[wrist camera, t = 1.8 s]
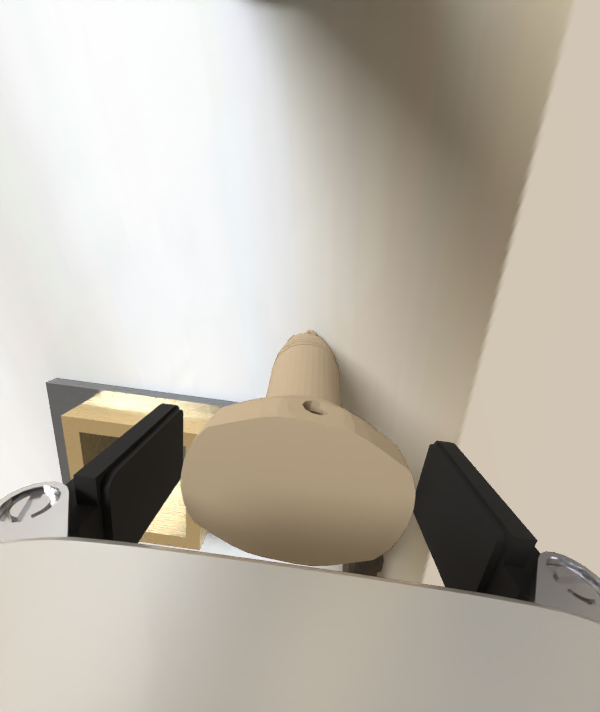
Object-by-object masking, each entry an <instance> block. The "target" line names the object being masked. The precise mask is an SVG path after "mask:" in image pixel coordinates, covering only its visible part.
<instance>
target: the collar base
mask: <svg viewBox="0 0 600 712" xmlns="http://www.w3.org/2000/svg"><path fill="white" fill-rule="evenodd" d="M46 386H47V392H48V398H49V404H50V410H51V416H52V422H53V428H54V434H55V440H56V446H57V452H58V458H59V464H60V469H61V475H62V481H63V484H64V485H66V484H67V483H68V482H69V481H70V480H72V479H73V478H74V477H73V475H74V474H75V473H76V472H78V471H79V470H80V469H81V468H83V467H84V466H85V465H86V464H87V463H89V462H90V461H91V460H92V459H94V458H95V457H96V456H97V455H99V454H100V453H101V452H102V451H103V450H105V449H106V448H107V447H108V446H110V445H111V444H112V443H113V442H114V441H116V440H117V439H118V438H119V437H121V436H122V435H123V434H124V433H126V432H127V431H128V430H129V429H130V428H132V427H133V426H134V425H135V424H137V423H138V422H139V421H140V420H141V419H143V418H144V417H145V416H146V415H148V414H149V413H150V412H151V411H152V410H154V409H155V408H156V407H157V406H159V405H160V404H162V403H165V404H173V405H178V406H179V409H181V410H183V414H184V415H183V462H184V458H185V456H186V454H187V451H188V449H189V447H190V445H191V443H192V442H193V441H194V439H195V438H196V436H197V435H198V434H199V432H200V431H201V430H202V428H203V427H204V426H205V424H206V423H207V422H208V421H209V419H210V418H211V417H212V416H213V415H214V414H215V413H216V412H217V411H219V410H220V409H221V408H222V407H224V406H228V405H232V404H236V403H239V402H231V401H224V400H216V399H209V398H202V397H194V396H187V395H179V394H172V393H164V392H157V391H149V390H142V389H134V388H127V387H119V386H112V385H104V384H97V383H89V382H82V381H75V380H67V379H60V378H56V379H53V380H51V381H49V382H46ZM206 533H207V530H206V529H204V528H202V527H201V526H199V525H198V524H196V523H194V521H193V520H192V518H191V516H190V515H189V513H188V511H187V509H186V507H185V504H184V502H183V497H182V492H181V479H180V480H179V482H178V484H177V485H176V487H175V488H174V490H173V491H172V493H171V494H170V496H169V497H168V499H167V500H166V502H165V503H164V505H163V506H162V508H161V509H160V511H159V512H158V514H157V515H156V517H155V518H154V520H153V521H152V523H151V524H150V526H149V527H148V529H147V530H146V532H145V533H144V535H143V536H142V538H141V539H140V541H139V542H146V543H153V544H160V545H168V546H175V547H182V548H189V549H197V550H200V548H201V546H202V543H203V541H204V538H205V536H206Z"/></svg>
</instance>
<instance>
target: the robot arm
mask: <svg viewBox="0 0 600 712" xmlns="http://www.w3.org/2000/svg"><path fill="white" fill-rule="evenodd" d="M183 415H184V414H183V410H181V409H179V406H178V405H173V404H165V403H162V404H160V405H159V406H157V407H156V408H155V409H154V410H152V411H151V412H150V413H149V414H148V415H146V416H145V417H144V418H143V419H141V420H140V421H139V422H138V423H137V424H135V425H134V426H133V427H132V428H130V429H129V430H128V431H127V432H126V433H124V434H123V435H122V436H121V437H119V438H118V439H117V440H116V441H114V442H113V443H112V444H111V445H110V446H108V447H107V448H106V449H105V450H103V451H102V452H101V453H100V454H99V455H97V456H96V457H95V458H94V459H92V460H91V461H90V462H89V463H87V464H86V465H85V466H84V467H83V468H81V469H80V470H79V471H78V472H76V473H75V474H74V475H73V477H74V478H73V479H72V480H70V481H69V482H68V483H67V484H66V485H64V484H63V483H59V482H42V483H37V484H33V485H29V486H26V487H23V488H21V489H19V490H17V491H14V492H12V493H10V494H9V495H7V496H5V497H4V498H2V499H1V500H0V712H600V578H599V577H598V576H597V575H595V574H594V573H593V572H591V571H590V570H589V569H587V568H586V567H585V566H583V565H581V564H580V563H578V562H576V561H575V560H573V559H571V558H568V557H566V556H564V555H561V554H558V553H555V552H543V553H541V554H540V553H539V551H538V550H537V549H536V548H535V547H534V546H535V544H536V542H537V540H536V539H535V537H534V536H533V535H532V534H531V532H530V531H529V530H528V529H527V528H526V527H525V525H524V524H523V523H522V522H521V521H520V520H519V519H518V517H517V516H516V515H515V514H514V513H513V511H512V510H511V509H510V508H509V507H508V506H507V504H506V503H505V502H504V501H503V500H502V499H501V497H500V496H499V495H498V494H497V493H496V492H495V490H494V489H493V488H492V487H491V486H490V485H489V483H488V482H487V481H486V480H485V479H484V477H483V476H482V475H481V474H480V473H479V472H478V471H477V470H476V468H475V467H474V466H473V465H472V463H471V462H470V461H469V460H468V459H467V458H466V457H465V455H464V454H463V453H462V452H461V451H460V449H459V448H458V447H457V446H456V445H455V444H454V443H450V442H443V441H436V442H435V443H434V444H431V445H430V446H429V449H428V452H427V456H426V459H425V462H424V466H423V469H422V473H421V476H420V480H419V483H418V486H417V490H416V493H415V494H416V495H415V503H414V510H413V512H414V515H415V517H416V519H417V522H418V524H419V526H420V529H421V531H422V534H423V536H424V538H425V541H426V543H427V545H428V548H429V550H430V552H431V555H432V557H433V559H434V561H435V564H436V566H437V569H438V571H439V573H440V576H441V578H442V580H443V583H444V585H445V587H441V586H434V585H427V584H421V583H414V582H407V581H401V580H394V579H387V578H381V577H374V576H367V575H361V574H354V573H347V572H340V571H333V570H326V569H319V568H312V567H306V566H298V565H291V564H284V563H277V562H270V561H263V560H256V559H249V558H242V557H235V556H227V555H220V554H213V553H205V552H198V551H191V550H183V549H176V548H169V547H161V546H154V545H146V544H138V542H139V541H140V539H141V538H142V536H143V535H144V533H145V532H146V530H147V529H148V527H149V526H150V524H151V523H152V521H153V520H154V518H155V517H156V515H157V514H158V512H159V511H160V509H161V508H162V506H163V505H164V503H165V502H166V500H167V499H168V497H169V496H170V494H171V493H172V491H173V490H174V488H175V487H176V485H177V484H178V482H179V480H180V479H181V472H182V467H183Z"/></svg>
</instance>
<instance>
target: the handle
mask: <svg viewBox="0 0 600 712" xmlns="http://www.w3.org/2000/svg"><path fill="white" fill-rule="evenodd" d="M181 492H182V497H183V502H184V504H185V507H186V509H187V511H188V513H189V515H190V516H191V518H192V520H193V521H194V523H196V524H198V525H199V526H201V527H202V528H204V529H206V530H207V531H209V532H210V533H212V534H214V535H215V536H217V537H219V538H220V539H222V540H224V541H225V542H227V543H229V544H231V545H232V546H234V547H236V548H239V549H241V550H243V551H245V552H247V553H251V554H254V555H257V556H261V557H265V558H270V559H275V560H279V561H284V562H289V563H294V564H300V565H308V566H329V565H338V564H347V563H355V562H362V561H370V560H374V559H376V558H377V557H379V556H381V555H382V554H384V553H385V552H386V551H388V550H389V549H390V548H391V547H393V546H394V544H395V543H396V542H397V541H398V540H399V538H400V537H401V536H402V534H403V533H404V531H405V529H406V527H407V525H408V524H409V521H410V518H411V515H412V513H413V510H414V503H415V495H416V494H415V487H414V482H413V479H412V476H411V473H410V470H409V468H408V466H407V464H406V462H405V460H404V458H403V456H402V454H401V452H400V450H399V449H398V447H397V446H396V445H395V444H394V443H393V442H391V441H390V440H389V439H388V438H387V437H386V436H384V435H383V434H382V433H380V432H379V431H378V430H377V429H375V428H374V427H373V426H371V425H370V424H368V423H367V422H365V421H364V420H363V419H361V418H359V417H358V416H356V415H354V414H353V413H351V412H349V411H348V410H346V409H344V408H342V406H341V395H340V379H339V370H338V366H337V362H336V359H335V356H334V354H333V352H332V350H331V349H330V347H329V346H328V344H327V343H326V342H325V341H324V340H323V339H322V338H320V337H319V336H317V333H316V332H314V331H310V330H309V331H307V332H306V333H304V334H299V335H297V336H295V335H293V336H292V337H291V338H290V339H289V340H288V342H287V343H286V344H285V345H284V346H283V348H282V349H281V350H280V352H279V354H278V356H277V358H276V360H275V362H274V365H273V369H272V373H271V377H270V382H269V387H268V391H267V395H266V398H260V399H254V400H249V401H244V402H240V403H236V404H232V405H228V406H224V407H222V408H221V409H220V410H219V411H217V412H216V413H215V414H214V415H213V416H212V417H211V418H210V419H209V421H208V422H207V423H206V424H205V426H204V427H203V428H202V430H201V431H200V432H199V434H198V435H197V436H196V438H195V439H194V441H193V442H192V443H191V445H190V447H189V449H188V451H187V454H186V456H185V458H184V462H183V467H182V472H181Z"/></svg>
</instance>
